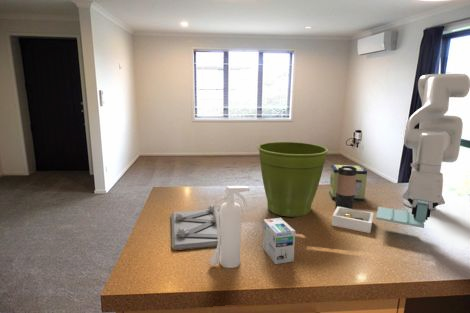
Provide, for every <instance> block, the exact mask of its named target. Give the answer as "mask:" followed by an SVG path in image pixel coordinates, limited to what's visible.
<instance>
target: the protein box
mask: <svg viewBox="0 0 470 313" xmlns="http://www.w3.org/2000/svg"><path fill="white" fill-rule="evenodd" d="M330 166H331V167H330V177H329V191H328V193H329V195H330V197H331V199H332V200H333V201H336V189H337V178H338V168H341V167H342V166H350V167H354V168H356V169H357V172H356V183H355V194H354V202H365V199H366V187H367V178H368V177H367V176H368V170H366V169H365V168H364V167H363V166H362V165H353V164H351V165H349V164H347V165H345V164H331V165H330Z"/></svg>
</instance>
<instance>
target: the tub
mask: <svg viewBox="0 0 470 313" xmlns="http://www.w3.org/2000/svg"><path fill="white" fill-rule="evenodd" d="M344 213H351V214H352V218H347V217H344ZM374 214H375V213H374V212H372V211H366V210H360V209H354V208H353V209H349V208H344V207H338V206H337V208H336V209H335V210H334V212H333V214H332V216H331V226H334V227H339V228H344V229H348V230H353V231H358V232H362V233H368V234H371V231H372V228H373V220H374ZM355 217H357V218H363V220H364V221H363V220H358V219H355Z"/></svg>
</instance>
